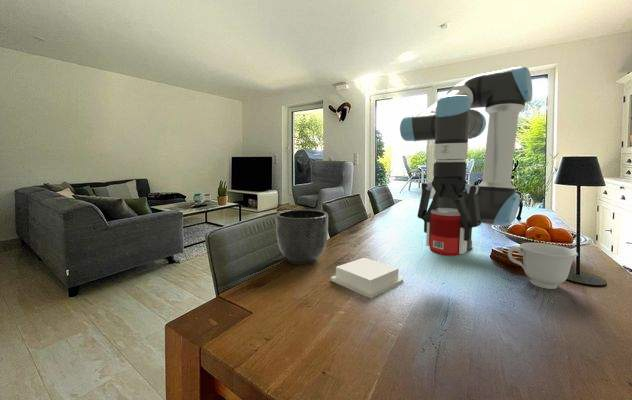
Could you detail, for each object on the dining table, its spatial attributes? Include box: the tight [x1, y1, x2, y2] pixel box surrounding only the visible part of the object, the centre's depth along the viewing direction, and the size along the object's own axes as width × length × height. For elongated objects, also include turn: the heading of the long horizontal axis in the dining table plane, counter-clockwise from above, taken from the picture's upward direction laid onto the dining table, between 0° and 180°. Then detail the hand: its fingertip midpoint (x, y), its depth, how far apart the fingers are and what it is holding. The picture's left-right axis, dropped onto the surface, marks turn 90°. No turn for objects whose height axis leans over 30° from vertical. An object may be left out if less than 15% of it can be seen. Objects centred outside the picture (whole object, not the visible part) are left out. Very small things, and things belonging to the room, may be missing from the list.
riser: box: [330, 257, 404, 299], centre depth 79 cm, size 14×14×4 cm
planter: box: [275, 209, 329, 266], centre depth 95 cm, size 17×17×16 cm
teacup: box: [507, 242, 579, 290], centre depth 77 cm, size 12×15×10 cm
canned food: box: [428, 208, 464, 257], centre depth 74 cm, size 8×8×11 cm
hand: (445, 248), depth 75 cm, fingers closed on canned food, 8 cm apart
